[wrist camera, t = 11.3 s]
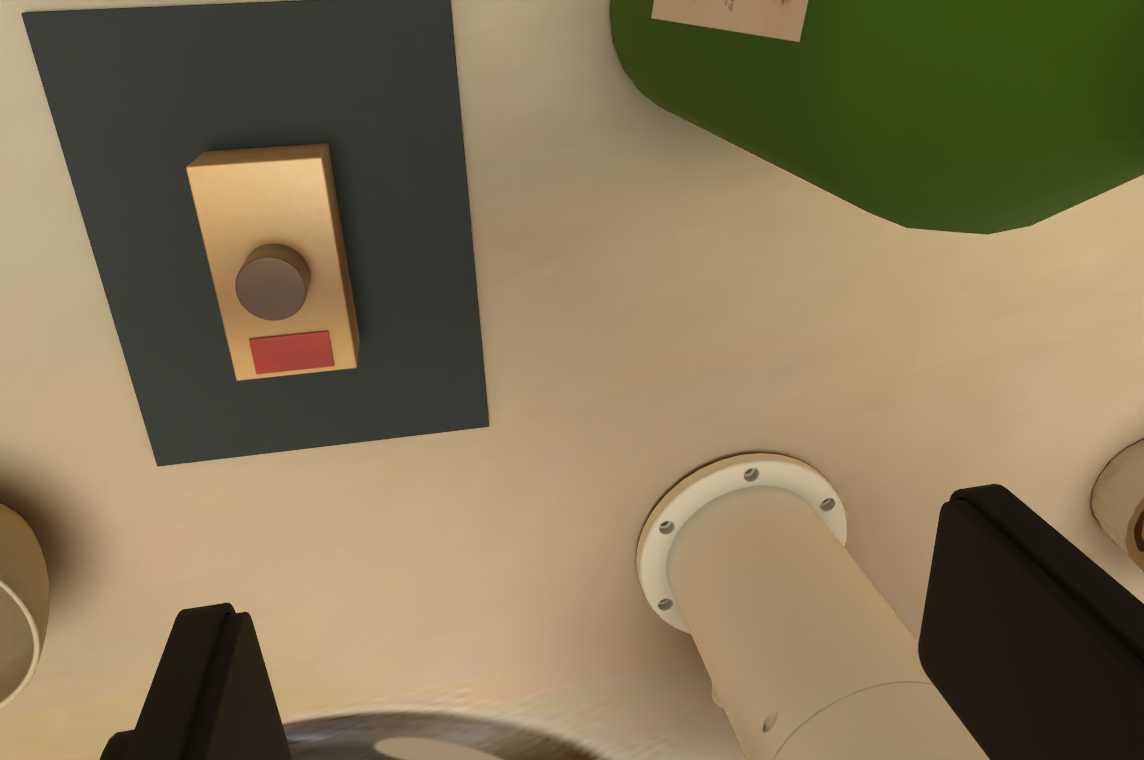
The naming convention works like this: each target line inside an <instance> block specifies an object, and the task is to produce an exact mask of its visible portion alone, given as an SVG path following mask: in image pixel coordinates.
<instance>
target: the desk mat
mask: <svg viewBox="0 0 1144 760" xmlns="http://www.w3.org/2000/svg"><path fill="white" fill-rule="evenodd" d="M22 17H23V21H24V24H25V27H26V31H27V34H28V37H29V41H30V44H31V47H32V51H33V54H34V57H35V61H36V64H37V67H38V71H39V74H40V77H41V81H42V84H43V87H44V91H45V94H46V97H47V100H48V104H49V107H50V110H51V114H52V117H53V120H54V124H55V127H56V130H57V134H58V137H59V140H60V144H61V147H62V150H63V154H64V157H65V160H66V164H67V167H68V170H69V174H70V177H71V180H72V184H73V187H74V190H75V194H76V197H77V200H78V204H79V207H80V210H81V213H82V217H83V220H84V223H85V227H86V230H87V233H88V237H89V240H90V243H91V247H92V250H93V253H94V257H95V260H96V263H97V267H98V270H99V273H100V277H101V280H102V283H103V287H104V290H105V293H106V297H107V300H108V303H109V307H110V310H111V313H112V317H113V320H114V323H115V327H116V330H117V333H118V336H119V340H120V343H121V346H122V350H123V353H124V356H125V360H126V363H127V366H128V370H129V373H130V376H131V380H132V383H133V386H134V390H135V393H136V396H137V400H138V403H139V406H140V410H141V413H142V416H143V420H144V423H145V426H146V430H147V433H148V436H149V440H150V443H151V446H152V449H153V453H154V456H155V459H156V463H157V466H165V465H173V464H182V463H190V462H198V461H207V460H215V459H223V458H232V457H240V456H248V455H257V454H265V453H273V452H282V451H290V450H298V449H307V448H315V447H323V446H332V445H340V444H348V443H357V442H365V441H373V440H382V439H390V438H398V437H407V436H415V435H423V434H432V433H440V432H449V431H457V430H465V429H474V428H482V427H489V419H488V408H487V397H486V386H485V375H484V364H483V353H482V342H481V331H480V320H479V309H478V298H477V287H476V276H475V265H474V254H473V243H472V232H471V221H470V210H469V199H468V188H467V177H466V166H465V155H464V144H463V133H462V122H461V111H460V100H459V89H458V78H457V67H456V56H455V45H454V34H453V23H452V12H451V1H450V0H304V1H281V2H258V3H235V4H211V5H188V6H165V7H142V8H119V9H96V10H72V11H49V12H26V13H22ZM322 143H327V144H328V145H329V152H330V158H331V164H332V170H333V176H334V183H335V189H336V195H337V201H338V207H339V214H340V220H341V226H342V232H343V238H344V244H345V251H346V257H347V263H348V269H349V275H350V282H351V288H352V294H353V300H354V306H355V313H356V319H357V325H358V331H359V337H360V343H359V352H358V361H357V367H356V368H351V369H341V370H332V371H323V372H313V373H304V374H295V375H285V376H276V377H267V378H257V379H248V380H239V381H238V380H237V379H236V375H235V371H234V367H233V363H232V359H231V354H230V350H229V346H228V342H227V338H226V333H225V329H224V325H223V321H222V317H221V312H220V308H219V304H218V300H217V296H216V292H215V287H214V283H213V279H212V275H211V271H210V266H209V262H208V258H207V254H206V250H205V245H204V241H203V237H202V233H201V229H200V224H199V220H198V216H197V212H196V208H195V204H194V199H193V195H192V191H191V187H190V183H189V178H188V174H187V170H186V167H187V166H188V165H189V164H190V163H191V162H192V161H194V160H195V159H196V158H197V157H198V156H199V155H200V154H201V153H203V152H205V151H219V150H234V149H249V148H263V147H278V146H293V145H308V144H322Z"/></svg>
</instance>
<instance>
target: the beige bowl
mask: <svg viewBox="0 0 1144 760" xmlns="http://www.w3.org/2000/svg"><path fill="white" fill-rule="evenodd" d="M48 615H49V581H48V573H47V568H46V564H45V560H44V556H43V553H42V550H41V547H40V545H39V542H38V540H37V538H36V536H35V534H34V532H33V531H32V529H31V527H30V526H29V525H28V523H27V522H26V521H25V520H24V519H23V518H22V517H21V516H20V515H19V514H18V513H17V512H15V511H14V510H12V509H11V508H9V507H7V506H5V505H3V504H1V503H0V709H1V708H3V707H5V706H6V705H7V704H9V703H10V702H11V701H12V700H14V699H15V698H16V697H17V696H18V695H19V694H20V693H21V692H22V691H23V690H24V688H25V687H26V686H27V684H28V683H29V681H30V680H31V678H32V676H33V674H34V672H35V670H36V667H37V664H38V661H39V659H40V655H41V652H42V648H43V644H44V640H45V635H46V629H47V623H48Z"/></svg>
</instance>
